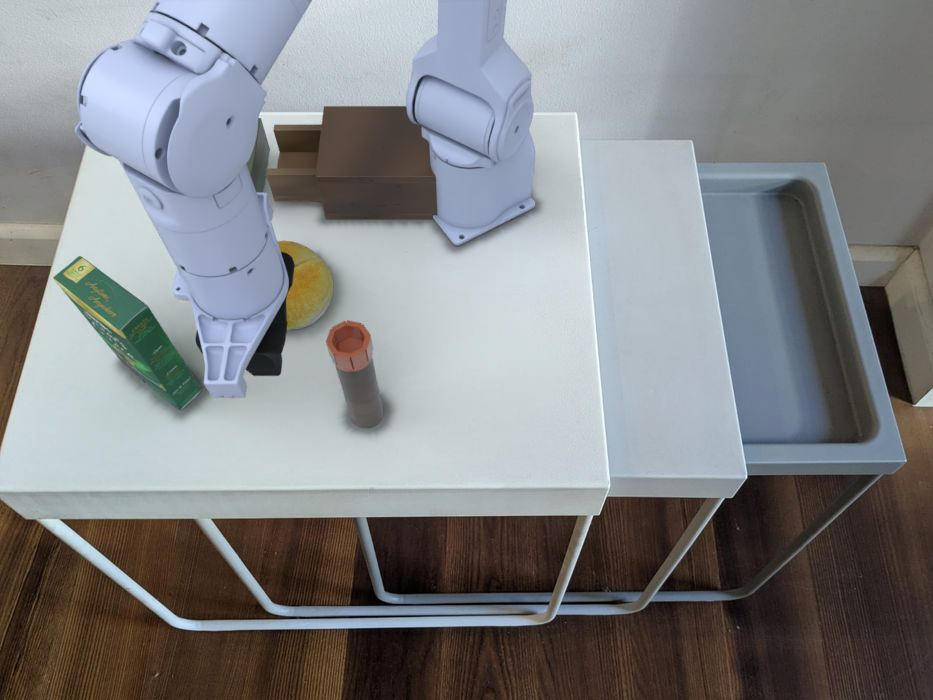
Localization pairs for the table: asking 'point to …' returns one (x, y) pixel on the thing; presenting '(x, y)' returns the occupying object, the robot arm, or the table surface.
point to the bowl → (350, 346)
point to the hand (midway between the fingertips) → (269, 353)
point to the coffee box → (129, 331)
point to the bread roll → (307, 286)
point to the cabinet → (374, 165)
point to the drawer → (287, 162)
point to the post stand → (362, 395)
